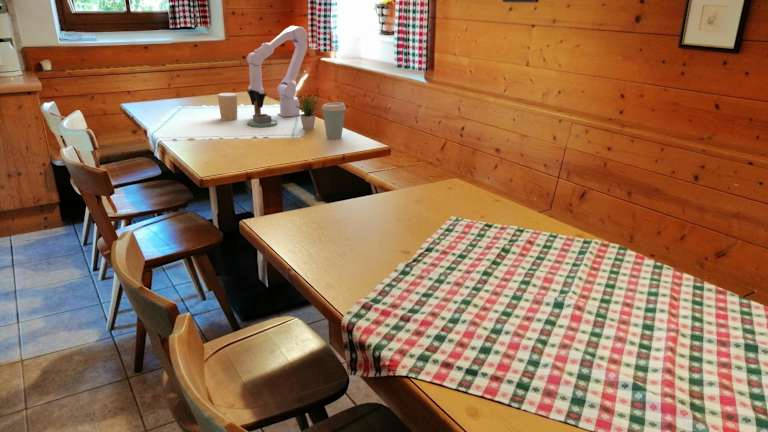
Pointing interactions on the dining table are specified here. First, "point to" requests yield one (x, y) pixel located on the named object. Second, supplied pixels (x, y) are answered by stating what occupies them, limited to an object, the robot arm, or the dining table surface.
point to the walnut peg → (257, 109)
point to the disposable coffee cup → (334, 119)
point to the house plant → (308, 112)
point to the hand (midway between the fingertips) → (257, 106)
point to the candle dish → (262, 121)
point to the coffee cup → (228, 106)
